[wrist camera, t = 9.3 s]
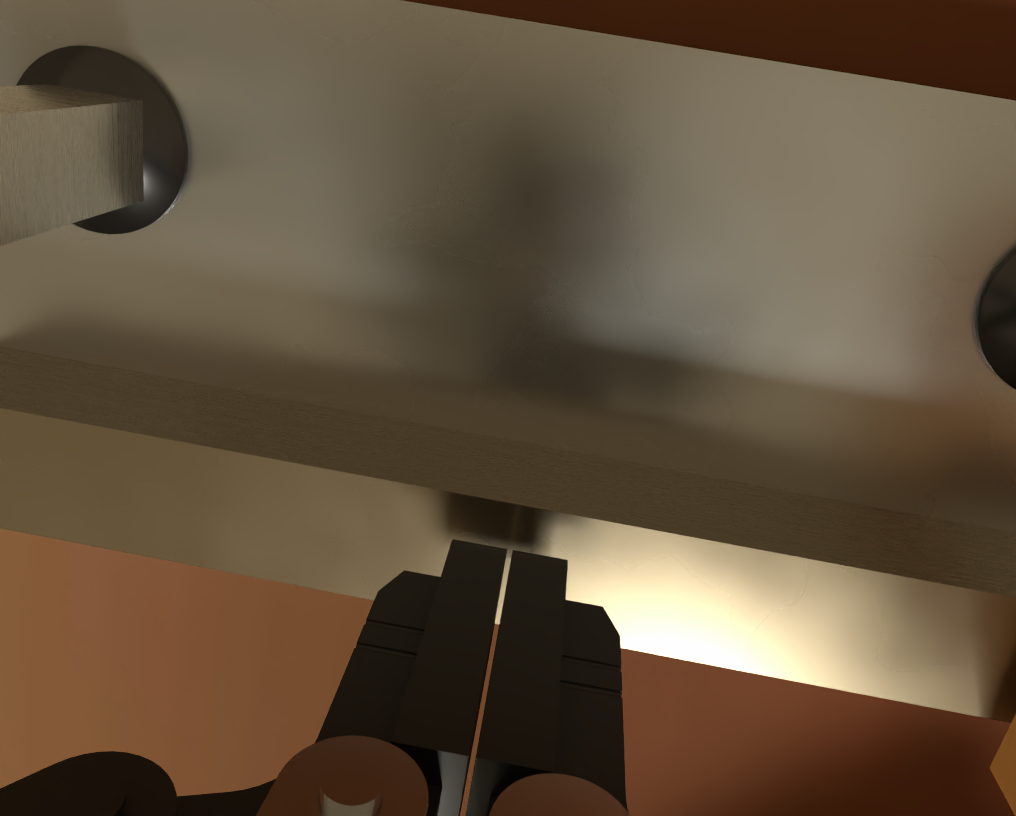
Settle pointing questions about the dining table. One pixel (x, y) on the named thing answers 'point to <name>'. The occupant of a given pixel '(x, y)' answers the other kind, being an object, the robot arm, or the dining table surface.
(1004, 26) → the dining table surface
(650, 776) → the dining table surface
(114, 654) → the dining table surface
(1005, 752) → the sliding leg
